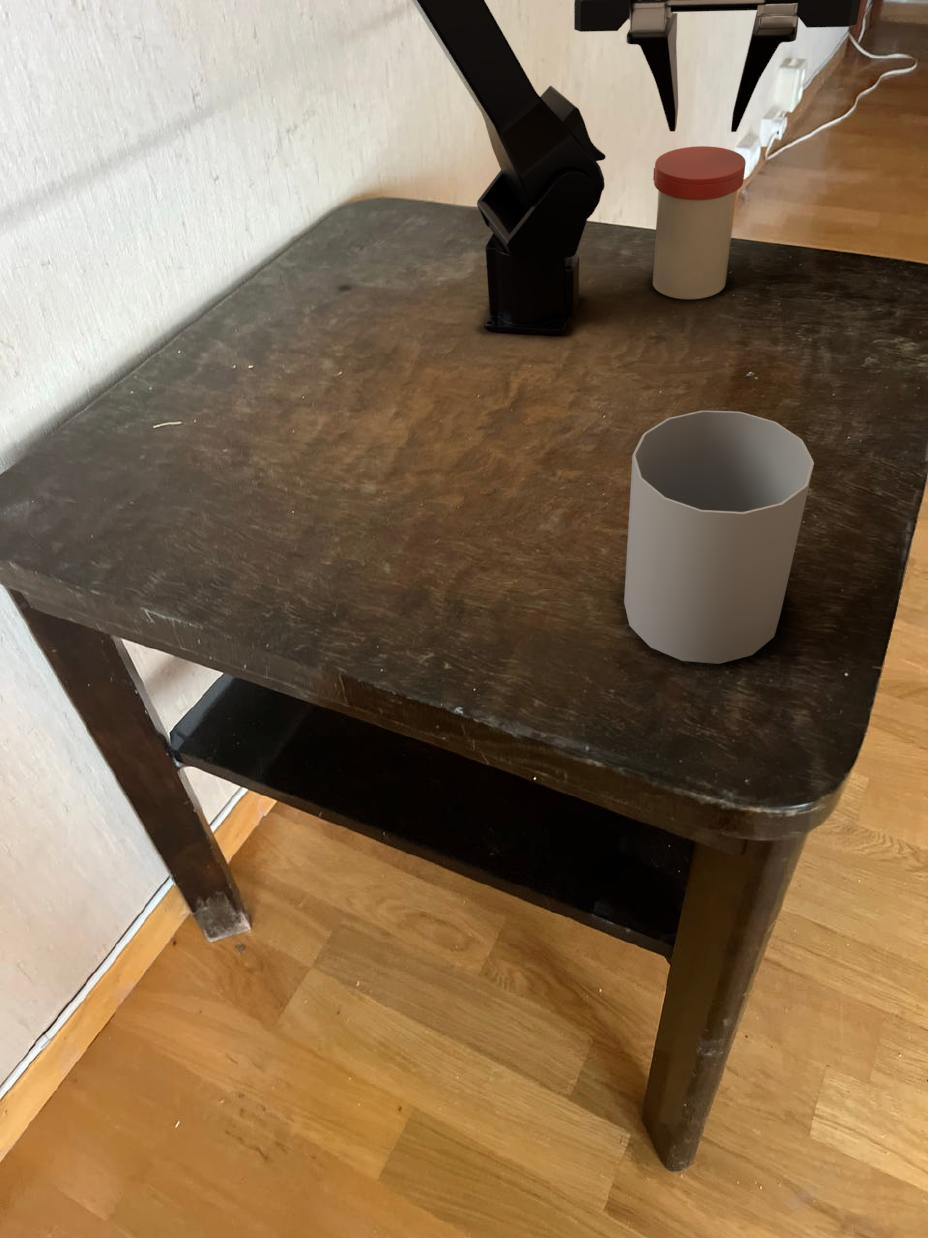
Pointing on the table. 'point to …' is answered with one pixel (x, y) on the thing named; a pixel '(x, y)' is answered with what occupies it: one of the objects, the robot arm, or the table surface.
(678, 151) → the lid
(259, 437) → the table surface
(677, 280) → the jar
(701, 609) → the cup
